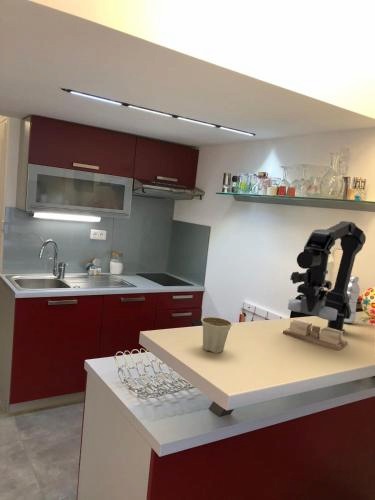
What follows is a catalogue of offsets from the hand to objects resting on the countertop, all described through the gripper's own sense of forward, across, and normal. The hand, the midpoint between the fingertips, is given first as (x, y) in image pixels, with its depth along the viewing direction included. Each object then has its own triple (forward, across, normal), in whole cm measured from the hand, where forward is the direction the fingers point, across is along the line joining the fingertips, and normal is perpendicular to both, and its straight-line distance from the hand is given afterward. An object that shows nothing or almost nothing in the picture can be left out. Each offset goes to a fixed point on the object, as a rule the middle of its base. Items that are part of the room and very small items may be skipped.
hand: (311, 310), depth 143 cm
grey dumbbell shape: (+1, 0, 0) cm, 1 cm away
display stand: (+11, -3, +2) cm, 11 cm away
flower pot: (+10, +37, -16) cm, 42 cm away
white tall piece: (+12, -39, +3) cm, 41 cm away
